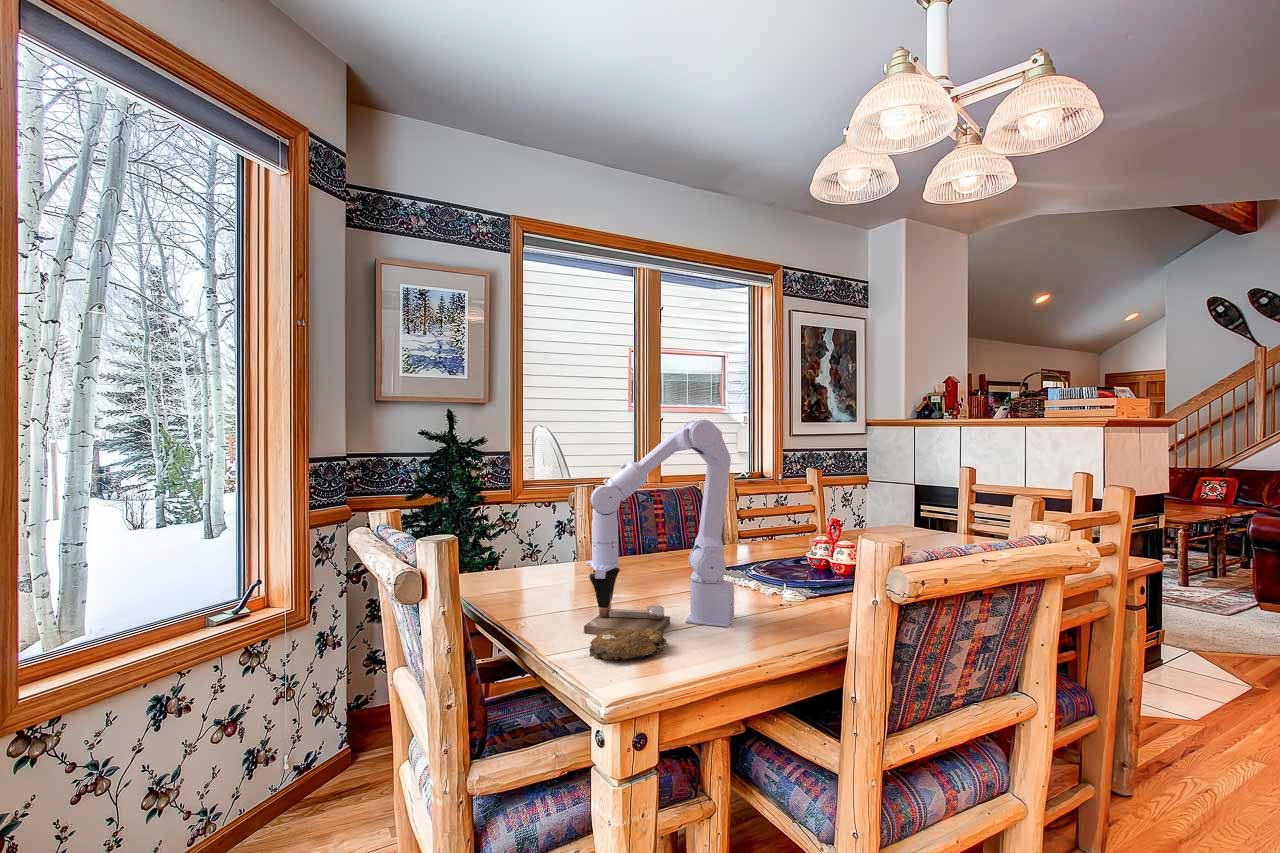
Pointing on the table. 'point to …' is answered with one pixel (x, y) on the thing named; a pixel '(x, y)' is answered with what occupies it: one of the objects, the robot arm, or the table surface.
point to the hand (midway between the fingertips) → (605, 604)
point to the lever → (633, 612)
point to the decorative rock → (627, 643)
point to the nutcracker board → (624, 624)
